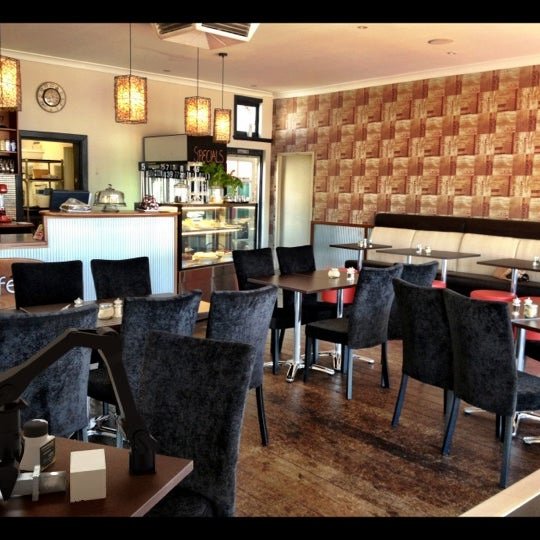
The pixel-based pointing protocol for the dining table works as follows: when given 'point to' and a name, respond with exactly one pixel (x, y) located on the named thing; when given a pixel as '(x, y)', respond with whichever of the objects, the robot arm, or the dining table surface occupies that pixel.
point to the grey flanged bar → (39, 482)
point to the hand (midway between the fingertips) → (8, 492)
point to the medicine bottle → (37, 445)
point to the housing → (87, 475)
